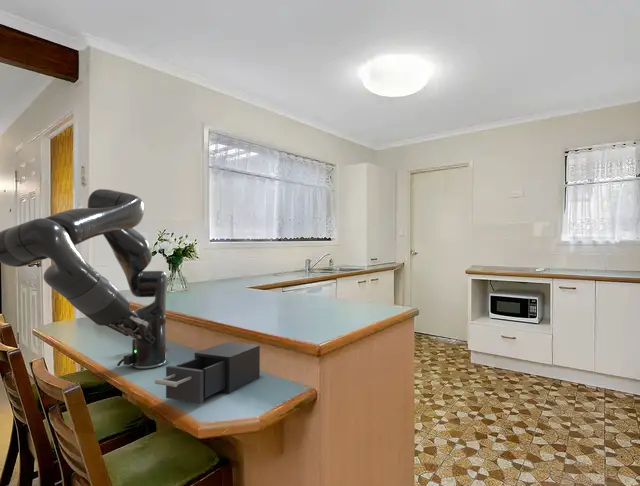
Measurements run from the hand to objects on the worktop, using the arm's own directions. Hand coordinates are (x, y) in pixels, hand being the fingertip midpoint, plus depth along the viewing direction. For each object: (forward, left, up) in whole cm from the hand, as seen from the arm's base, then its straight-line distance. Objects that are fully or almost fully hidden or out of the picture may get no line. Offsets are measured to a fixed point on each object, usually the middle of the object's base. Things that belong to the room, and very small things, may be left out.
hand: (151, 342), depth 88 cm
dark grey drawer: (+3, +12, -17) cm, 21 cm away
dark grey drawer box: (+5, +25, -18) cm, 32 cm away
